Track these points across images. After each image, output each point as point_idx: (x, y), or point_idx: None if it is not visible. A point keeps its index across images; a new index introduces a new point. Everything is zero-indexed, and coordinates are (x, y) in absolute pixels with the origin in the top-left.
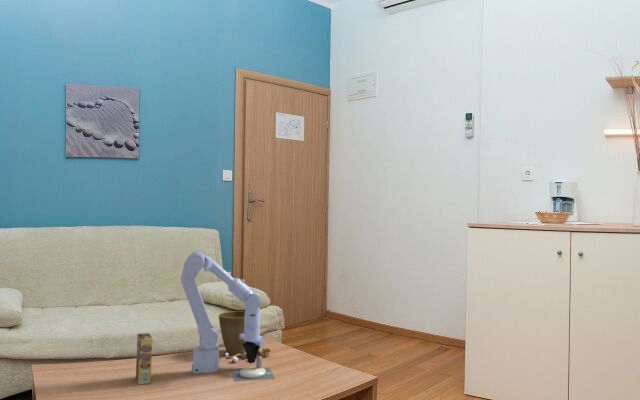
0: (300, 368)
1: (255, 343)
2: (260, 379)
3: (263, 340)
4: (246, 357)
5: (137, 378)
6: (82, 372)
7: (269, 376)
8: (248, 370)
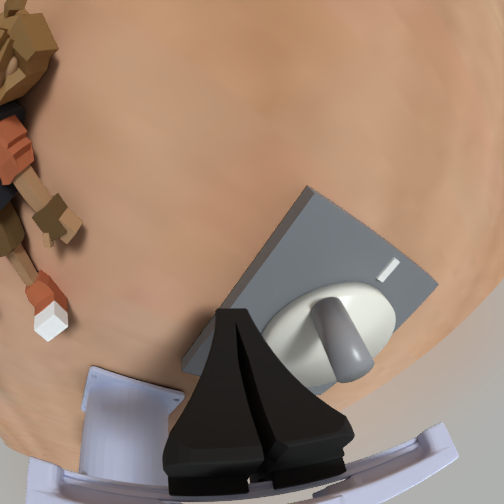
0: (427, 22)
1: (341, 475)
2: (393, 332)
3: (444, 466)
4: (3, 217)
5: None
6: (48, 455)
7: (409, 290)
8: (310, 361)
